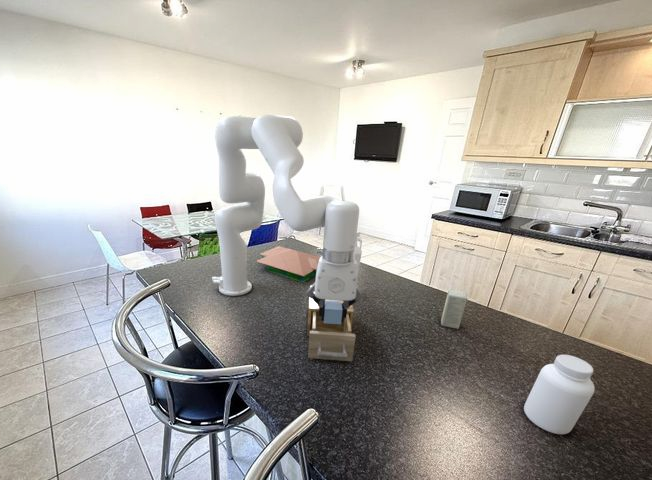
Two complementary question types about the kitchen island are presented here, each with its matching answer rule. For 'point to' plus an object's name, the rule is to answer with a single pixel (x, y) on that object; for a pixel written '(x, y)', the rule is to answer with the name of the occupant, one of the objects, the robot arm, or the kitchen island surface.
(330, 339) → the drawer
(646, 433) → the kitchen island surface
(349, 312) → the cabinet
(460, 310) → the box
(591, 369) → the pill bottle
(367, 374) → the kitchen island surface
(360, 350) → the kitchen island surface
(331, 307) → the block
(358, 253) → the white spray bottle
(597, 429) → the kitchen island surface
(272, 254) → the house
